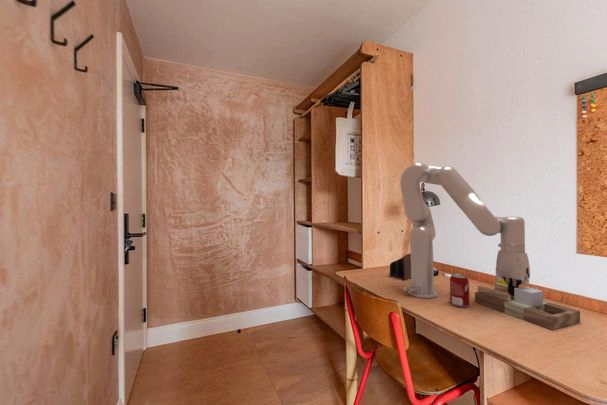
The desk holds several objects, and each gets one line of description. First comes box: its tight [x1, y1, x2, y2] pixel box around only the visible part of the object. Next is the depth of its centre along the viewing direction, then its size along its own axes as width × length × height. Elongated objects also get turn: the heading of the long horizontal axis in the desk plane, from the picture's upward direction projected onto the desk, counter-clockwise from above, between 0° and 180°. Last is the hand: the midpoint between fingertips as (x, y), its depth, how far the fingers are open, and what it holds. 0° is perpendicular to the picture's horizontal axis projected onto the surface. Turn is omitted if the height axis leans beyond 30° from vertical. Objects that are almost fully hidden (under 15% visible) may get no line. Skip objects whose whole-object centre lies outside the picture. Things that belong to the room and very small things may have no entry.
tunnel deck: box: [474, 282, 581, 331], centre depth 103 cm, size 15×27×6 cm, turn 20°
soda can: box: [449, 273, 470, 308], centre depth 110 cm, size 7×7×12 cm
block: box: [514, 285, 544, 307], centre depth 100 cm, size 6×6×5 cm
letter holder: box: [389, 252, 411, 281], centre depth 154 cm, size 10×20×14 cm, turn 124°
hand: (513, 295), depth 106 cm, fingers closed
